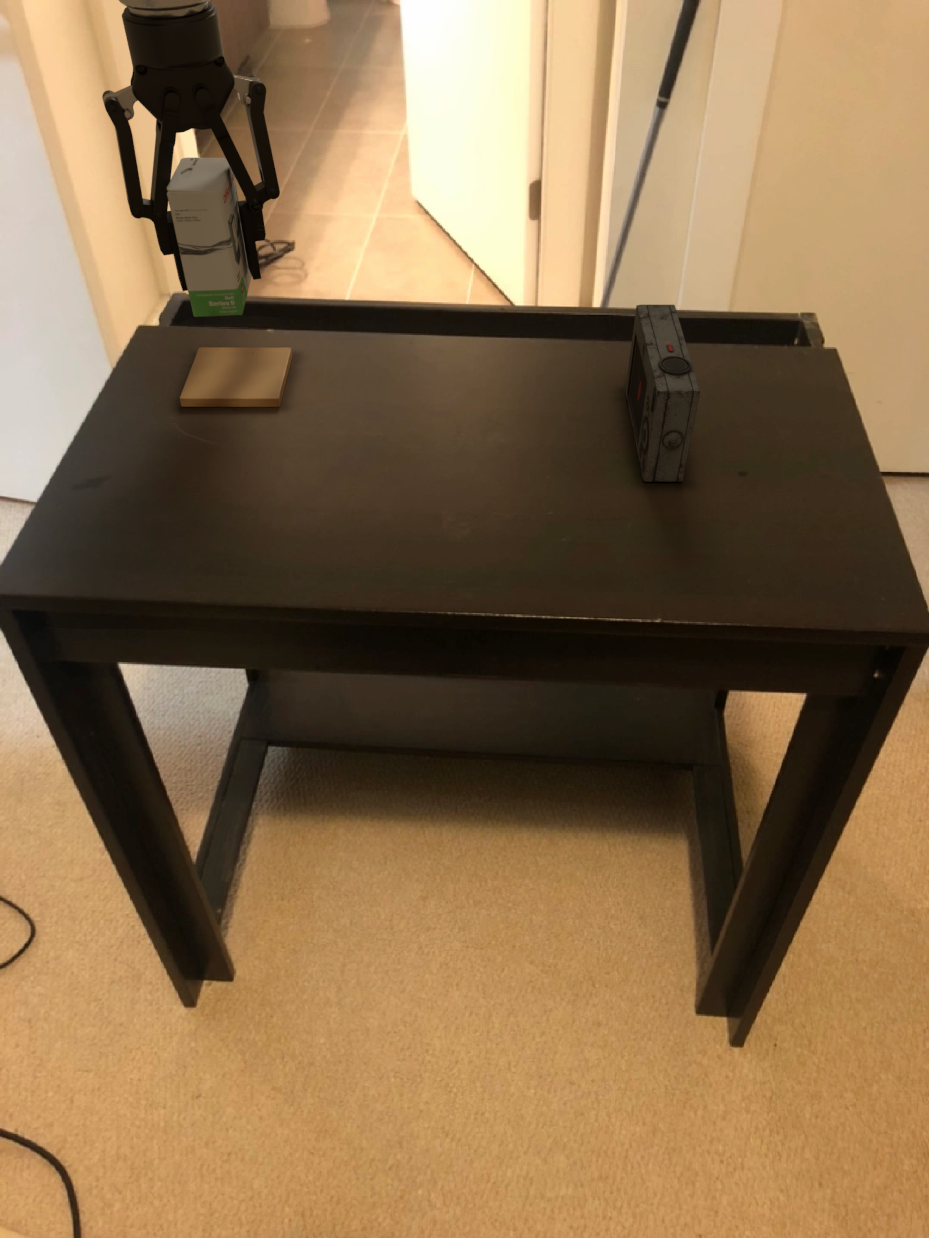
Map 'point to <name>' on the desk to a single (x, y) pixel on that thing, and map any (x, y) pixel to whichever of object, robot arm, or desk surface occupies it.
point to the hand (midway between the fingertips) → (219, 278)
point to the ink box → (209, 236)
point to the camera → (661, 393)
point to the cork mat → (237, 377)
